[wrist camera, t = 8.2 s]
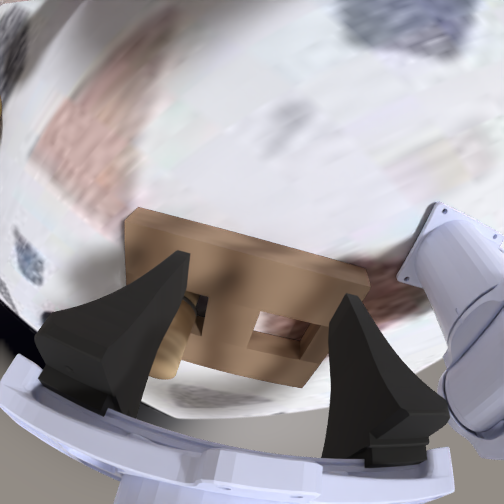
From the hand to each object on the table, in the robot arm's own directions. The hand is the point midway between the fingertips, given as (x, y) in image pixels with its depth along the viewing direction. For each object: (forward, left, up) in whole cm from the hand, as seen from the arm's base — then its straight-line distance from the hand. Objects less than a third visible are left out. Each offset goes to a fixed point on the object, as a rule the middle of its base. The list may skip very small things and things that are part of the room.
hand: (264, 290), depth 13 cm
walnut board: (+1, +12, -10) cm, 16 cm away
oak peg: (+6, +12, -10) cm, 17 cm away
